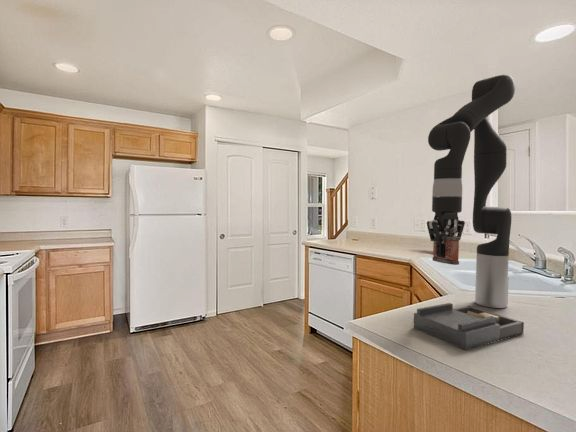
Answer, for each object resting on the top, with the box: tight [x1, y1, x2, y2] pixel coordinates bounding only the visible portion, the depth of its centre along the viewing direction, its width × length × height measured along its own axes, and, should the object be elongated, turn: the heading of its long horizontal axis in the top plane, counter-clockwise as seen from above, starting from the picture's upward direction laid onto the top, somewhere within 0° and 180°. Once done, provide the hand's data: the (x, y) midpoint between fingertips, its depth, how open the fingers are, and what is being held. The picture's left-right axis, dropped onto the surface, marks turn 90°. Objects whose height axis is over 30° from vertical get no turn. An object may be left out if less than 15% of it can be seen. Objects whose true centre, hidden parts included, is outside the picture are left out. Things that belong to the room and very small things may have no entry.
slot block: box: [413, 302, 500, 351], centre depth 84 cm, size 13×15×6 cm
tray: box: [453, 305, 525, 341], centre depth 89 cm, size 10×15×3 cm
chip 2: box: [479, 312, 499, 324], centre depth 90 cm, size 4×4×2 cm
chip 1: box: [467, 311, 486, 319], centre depth 87 cm, size 4×4×2 cm
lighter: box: [432, 228, 461, 266], centre depth 91 cm, size 8×3×10 cm, turn 22°
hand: (445, 256), depth 91 cm, fingers closed on lighter, 3 cm apart
